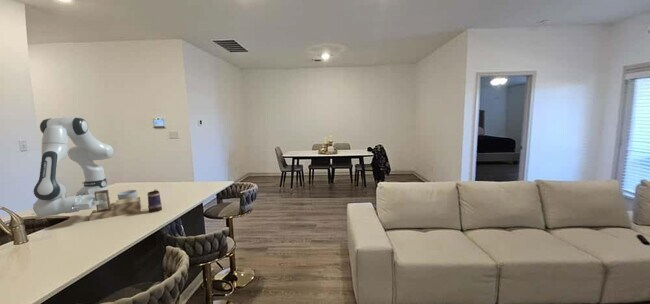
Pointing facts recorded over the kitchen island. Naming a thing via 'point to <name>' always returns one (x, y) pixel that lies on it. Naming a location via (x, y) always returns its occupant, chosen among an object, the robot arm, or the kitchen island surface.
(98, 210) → the frame
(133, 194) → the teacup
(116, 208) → the stand
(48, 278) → the kitchen island surface
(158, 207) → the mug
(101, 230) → the kitchen island surface
